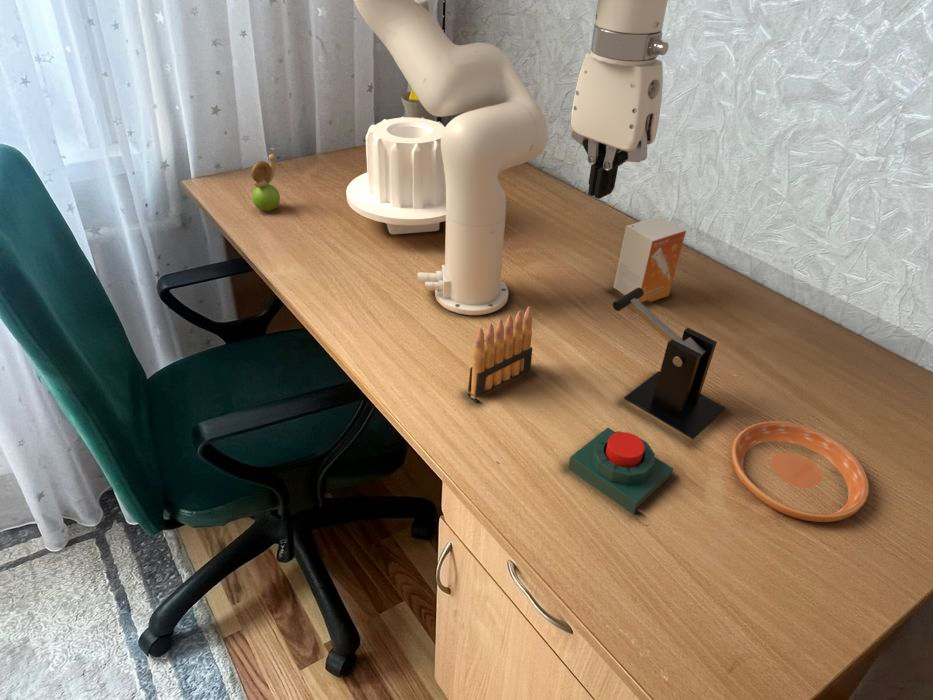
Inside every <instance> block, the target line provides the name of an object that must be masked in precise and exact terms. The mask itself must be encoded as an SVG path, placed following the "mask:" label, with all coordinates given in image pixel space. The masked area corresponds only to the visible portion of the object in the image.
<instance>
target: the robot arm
mask: <svg viewBox="0 0 933 700" xmlns="http://www.w3.org/2000/svg"><path fill="white" fill-rule="evenodd" d="M668 1H669V0H597V5H596V11H595V18H594V24H593V32H592V33H593V34H592V39H591V47H590V49H589V50H587V51H586V53H585V56H584V58H583V62H582V64H581V67H580V71H579V75H578V78H577V83H576V86H575V91H574V96H573V102H572V108H571V118H570V126H571V129H572V131H571V136H570V137H571V138H572V139H573V140H574V141H576V142H577V143H579V144H580V145H582V146H583V149H584V151H585V152H586V155H587V163H588V164H589V165H590V171H589V178H588V190H587V195H588V196H591V197H594V198H596V199H598V200H600V199H602V198H604V197H606V196H609V195H611V194H612V193H613V191H614V189H615V187H616V181H617V175H618V170H619V167H620V166H622V165H623V164H624V163H626V162H629V163H630V162H631V163H640V162H643V161H646V159H647V158H648V146H649V145H651V144H653V143H654V142H655V140H656V138H657V137H656V136H657V134H658V133H657V132H658V128H659V121H660V115H661V108H662V98H663V97H662V96H663V85H664V84H663V83H664V82H663V81H664V80H663V79H664V72H663V71H664V70H663V69H664V68H663V67H664V66H663V61H662V60H659V59H657V58H658V57H659V56H665V55H666V54H667V52H668V50H669V42H667V41H663V40H662V37H663V27H664V23H665V17H666V12H667V6H668ZM353 3H354V4H355V6H356V9H357V10H358V12H359V15H360V16H361V18H362V19H363V20H364V22H365V23H366V24H367V26H368V27H369V28H370V30H371V31H372V32H373V33H374V34H375V35H376V37H377V38H378V39H379V40H380V41H381V42H382V44H383V45H384V46H385V48H386V49H387V51H388V52H389V54H390V55H391V57H392V58H393V60H394V62H395V63H396V66H397V67H398V69H399V70H400V72H401V73H402V75H403V77H404V78H405V80H406V82H407V83H408V85H409V86H410V88H411V90H412V89H413V91H414V93H415V94H416V96H417V98H418V99H419V101H420V102H421V104H422V105H423V106H424V108H425V109H426V110H427V111H428V112H429V113H430V114H432V115H434V117H436V118H437V117H438V118H443V117H451V116H454V115H457V116H455V117H453V118H452V119H451V120H450V121H449V122H448V123H447V124H446V126H444V127H445V128H444V130H443V133H442V136H441V153H442V159H443V164H444V171H445V179H446V221H445V242H444V264H442V265H441V270H436V271H435V272H429V271H428V272H427V271H426V272H423V271H422V272H417V284H418V285H419V284H420V285H422V284H423V285H424V290H425V291H433V290H434V296H435V299H436V301H437V303H439V304H440V305H441V306H442V307H443V308H445V309H446V310H448V311H450V312H453V313H456V314H460V315H463V316H464V315H465V316H467V315H468V316H482V315H487V314H488V315H489V314H493V313H494V312H496V311H498V310H500V309H502V308H503V307H504V306H505V305H506V304H507V303H508V300H509V289H508V287H507V285H506V284H505V282H504V281H502V280H501V276H502V268H503V267H502V265H503V253H504V242H505V241H504V239H505V228H506V215H507V197H506V194H505V191H504V188H503V187H502V185H501V183H500V181H499V175H500V173H501V172H504V171H507V170H508V169H511V168H514V167H517V166H520V165H523V164H526V163H528V162H530V161H532V160H533V161H534V160H535V159H536V158H538V157H540V155H542V153H543V152H544V150H545V149H546V147H547V144H548V141H549V129H548V124H547V120H546V117H545V115H544V113H543V110H542V109H541V107H540V105H539V104H538V102H537V100H536V99H535V97H534V96H533V94H532V93H531V91H530V89H529V88H528V87H527V85H526V83H525V82H524V79H522V77H521V75H520V74H519V72H518V69H516V67H515V66H514V64H513V63H512V61H511V60H510V58H509V57H508V56H507V54H506V53H505V52H504V51H503V50H501V49H500V48H499V47H497V46H495V45H494V44H491V43H488V42H472V43H468V44H467V43H466V44H461V45H459V44H456V43H454V42H452V41H451V39H450V38H449V37H448V36H447V35H446V33H445V32H444V30H443V29H442V26H441V25H440V23H439V22H438V20H437V19H436V18H435V16H434V15H433V14H432V13H431V12H430V11H429V12H428V11H427V10H426V9H425V8H424V7H422V6H421V5H420V4H418V3H417V2H415V1H414V0H353Z"/></svg>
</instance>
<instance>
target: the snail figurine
mask: <svg viewBox="0 0 933 700" xmlns="http://www.w3.org/2000/svg"><path fill="white" fill-rule="evenodd" d="M269 150H270V151H271V152H273V153H270V154H269V155H268V161H269V162H267V161H264V160H258V161H257V162H255V163H254V164H253V165H252V168H251V178H252V179H253V181H254V183H253V185H254V186H255V187H254V189H253V191H252V195H251V199H252V202H253V204H254V206H255V207H256V208H257V209H259V210H261V211H264V212H270V211H273V210H275V209H276V208H278V206H279V204H280V201H281V195H280V192H279V190H278V189H277V188H276V187H275V186H274V185H272V184H270V183H271V182H272V181H273V179H274V177H275V172H276V155H275V151H276V148H274V147H269Z"/></svg>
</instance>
